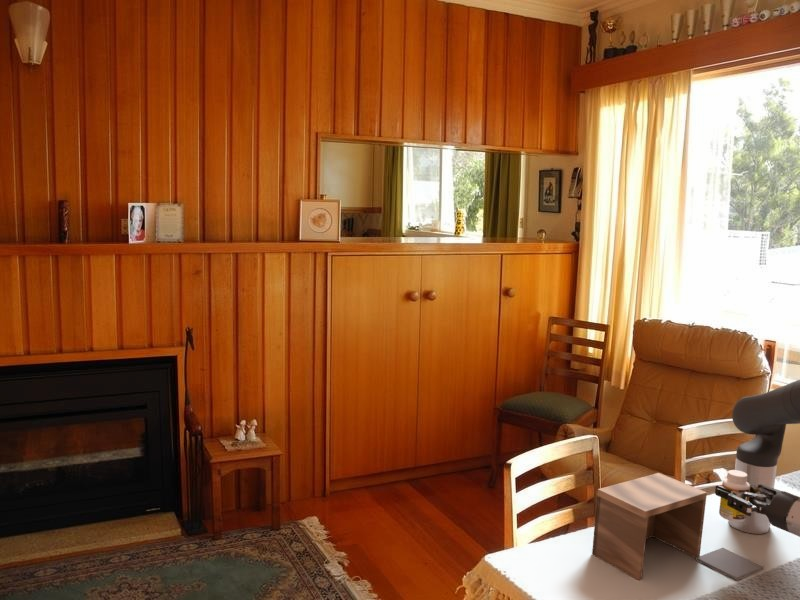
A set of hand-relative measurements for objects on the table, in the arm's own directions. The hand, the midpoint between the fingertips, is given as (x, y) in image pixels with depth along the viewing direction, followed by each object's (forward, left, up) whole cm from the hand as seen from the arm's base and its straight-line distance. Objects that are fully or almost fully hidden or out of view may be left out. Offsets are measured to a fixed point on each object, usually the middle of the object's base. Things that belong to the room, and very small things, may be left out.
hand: (725, 487), depth 168 cm
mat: (-1, +2, -18) cm, 18 cm away
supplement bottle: (0, +3, -6) cm, 7 cm away
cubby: (+12, -10, -18) cm, 23 cm away
